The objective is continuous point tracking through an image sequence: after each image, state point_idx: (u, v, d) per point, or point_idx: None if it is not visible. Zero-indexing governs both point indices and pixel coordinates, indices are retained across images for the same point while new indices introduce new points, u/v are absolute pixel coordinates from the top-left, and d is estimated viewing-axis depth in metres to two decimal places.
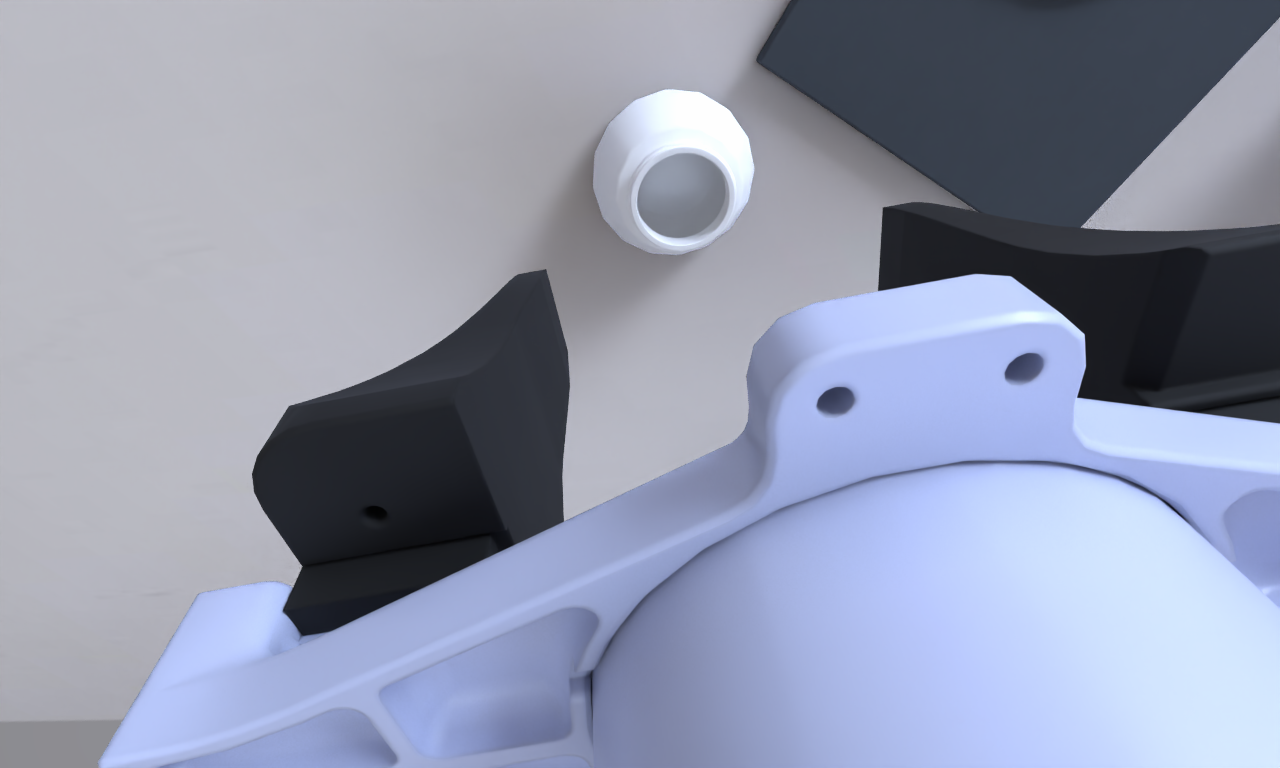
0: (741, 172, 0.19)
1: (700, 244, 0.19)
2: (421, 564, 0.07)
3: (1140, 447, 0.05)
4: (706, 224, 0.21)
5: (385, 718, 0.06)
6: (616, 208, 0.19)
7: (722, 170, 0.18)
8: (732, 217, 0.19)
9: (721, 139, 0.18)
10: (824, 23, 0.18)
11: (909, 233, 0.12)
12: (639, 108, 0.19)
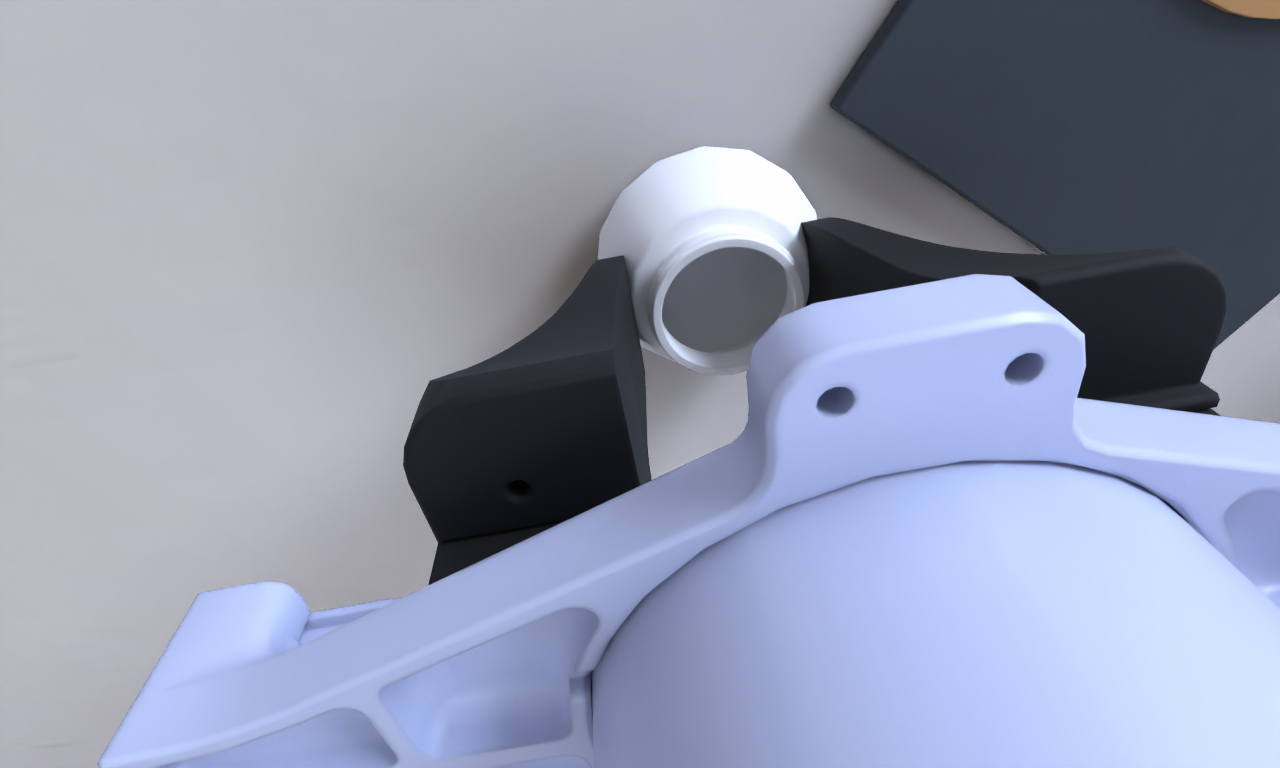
0: None
1: None
2: None
3: (1140, 447, 0.05)
4: (750, 320, 0.16)
5: (385, 718, 0.06)
6: None
7: (787, 270, 0.12)
8: None
9: (784, 222, 0.13)
10: (934, 54, 0.12)
11: (820, 249, 0.12)
12: (664, 175, 0.13)
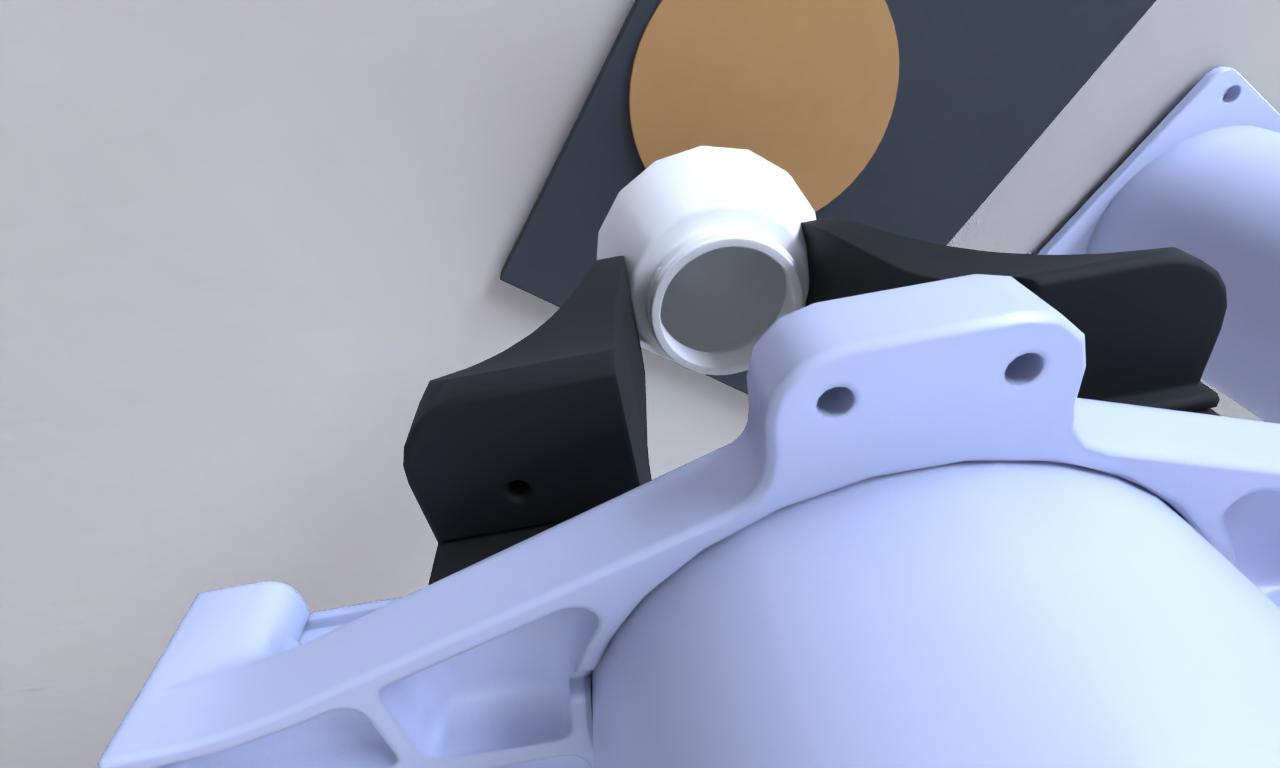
0: None
1: None
2: None
3: (1140, 449, 0.05)
4: (749, 319, 0.16)
5: (385, 718, 0.06)
6: None
7: (786, 269, 0.12)
8: None
9: (783, 221, 0.12)
10: (550, 250, 0.21)
11: (820, 249, 0.12)
12: (662, 174, 0.13)
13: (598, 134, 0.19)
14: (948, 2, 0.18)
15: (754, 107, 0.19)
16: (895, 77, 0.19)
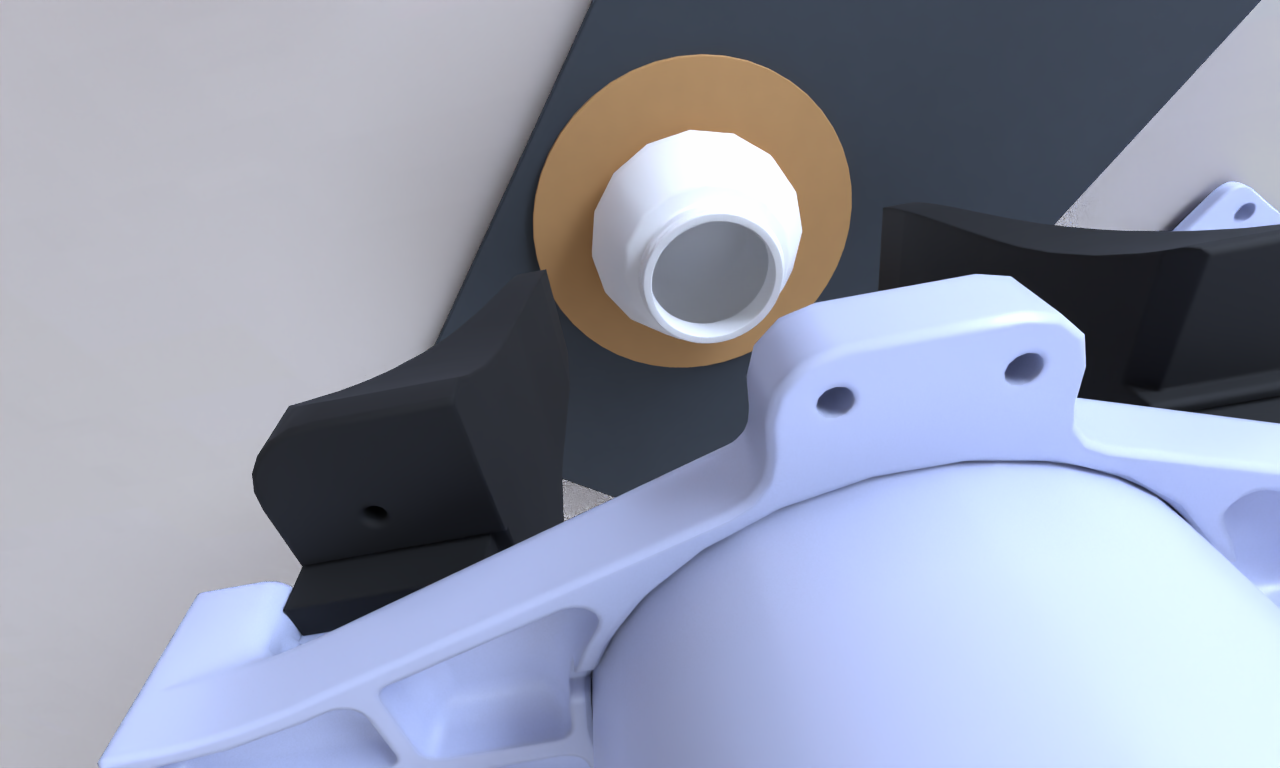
0: (789, 240, 0.14)
1: (734, 335, 0.14)
2: (421, 564, 0.07)
3: (1140, 447, 0.05)
4: (736, 296, 0.17)
5: (385, 718, 0.06)
6: (623, 287, 0.14)
7: (767, 243, 0.13)
8: None
9: (765, 199, 0.14)
10: None
11: (909, 233, 0.12)
12: (653, 156, 0.14)
13: (501, 271, 0.16)
14: (907, 123, 0.15)
15: None
16: (848, 203, 0.16)
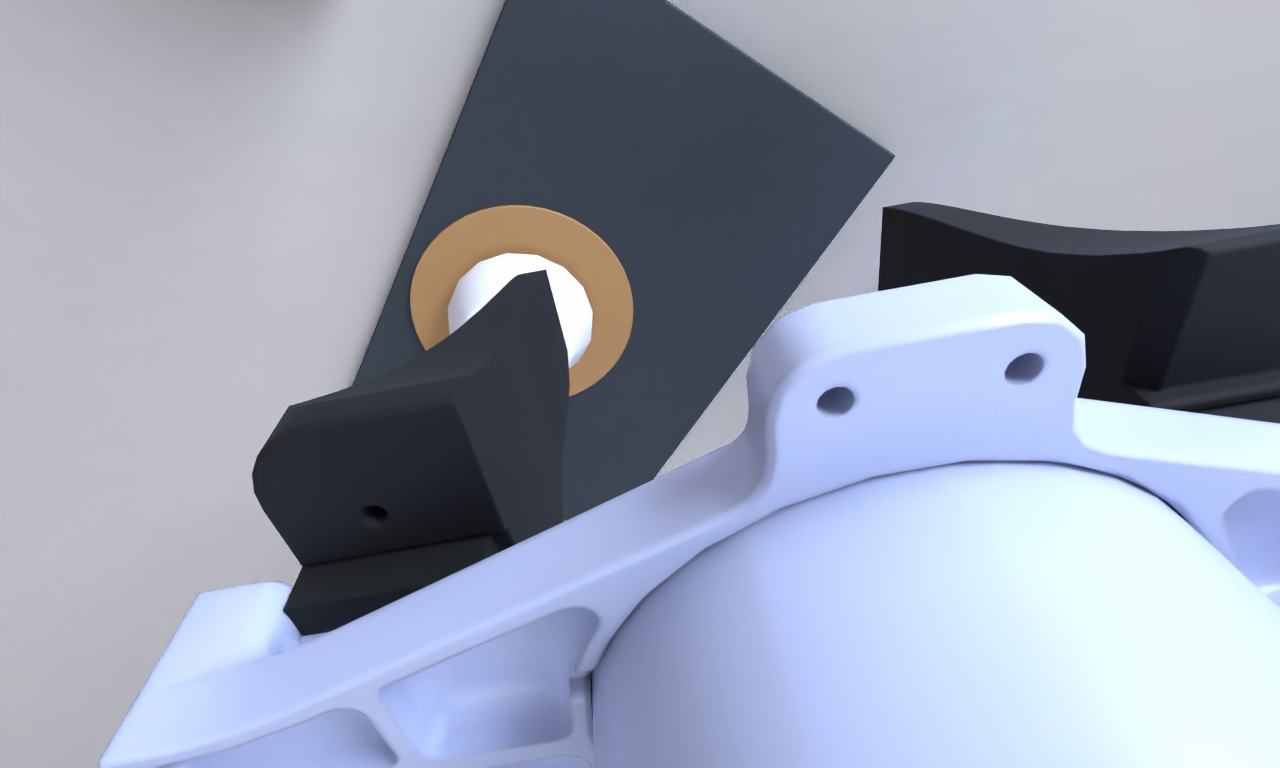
0: (571, 327, 0.21)
1: None
2: (421, 564, 0.07)
3: (1139, 447, 0.05)
4: None
5: (385, 718, 0.06)
6: None
7: None
8: (568, 362, 0.22)
9: None
10: None
11: (909, 233, 0.12)
12: (481, 271, 0.21)
13: (392, 339, 0.24)
14: (661, 243, 0.22)
15: None
16: (631, 294, 0.23)
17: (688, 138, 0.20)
